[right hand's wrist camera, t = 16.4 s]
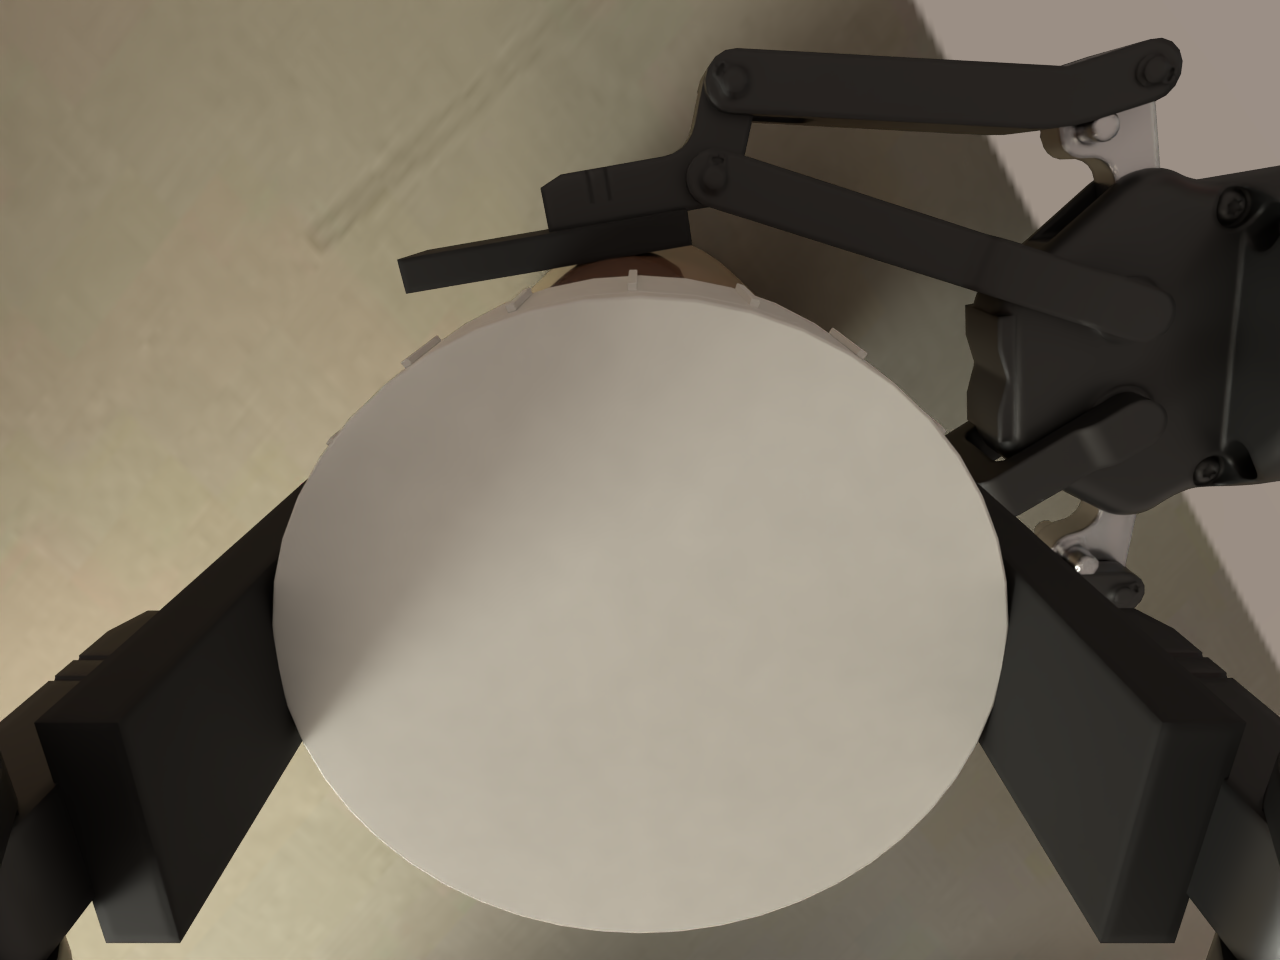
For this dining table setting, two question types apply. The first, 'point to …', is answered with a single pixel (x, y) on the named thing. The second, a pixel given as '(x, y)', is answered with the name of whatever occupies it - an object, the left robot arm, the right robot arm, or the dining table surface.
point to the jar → (647, 268)
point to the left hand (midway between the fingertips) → (465, 453)
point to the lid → (640, 608)
